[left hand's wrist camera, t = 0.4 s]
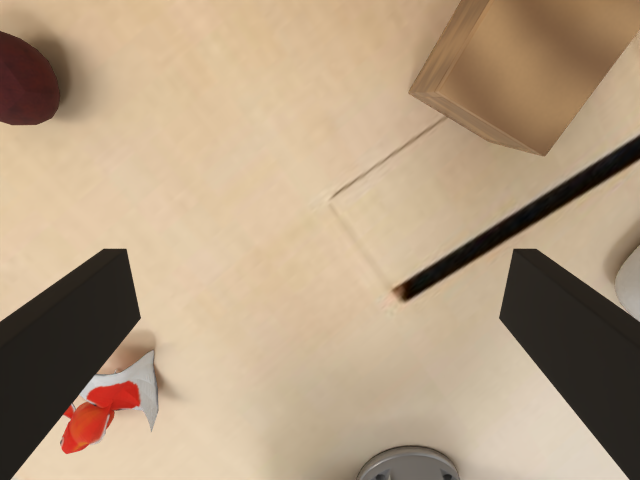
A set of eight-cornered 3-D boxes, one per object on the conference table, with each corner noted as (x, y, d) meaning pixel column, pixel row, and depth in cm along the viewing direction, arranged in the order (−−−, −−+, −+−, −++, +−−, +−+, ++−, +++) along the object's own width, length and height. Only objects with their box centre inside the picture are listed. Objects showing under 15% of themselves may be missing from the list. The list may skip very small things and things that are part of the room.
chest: (499, -66, 31) (563, -124, 23) (587, -2, 33) (675, -35, 25) (407, 93, 36) (434, 91, 27) (489, 142, 37) (536, 154, 29)
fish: (9, 395, 43) (-3, 468, 36) (126, 309, 47) (138, 359, 39) (80, 429, 50) (83, 497, 42) (178, 352, 53) (196, 401, 46)
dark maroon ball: (31, 19, 33) (-40, 1, 27) (94, 96, 36) (43, 96, 29) (-22, 69, 35) (-101, 63, 28) (43, 139, 37) (-17, 149, 30)
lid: (570, -136, 23) (705, -260, 15) (684, -45, 24) (859, -113, 16) (434, 91, 27) (480, 90, 20) (537, 154, 29) (618, 176, 21)
